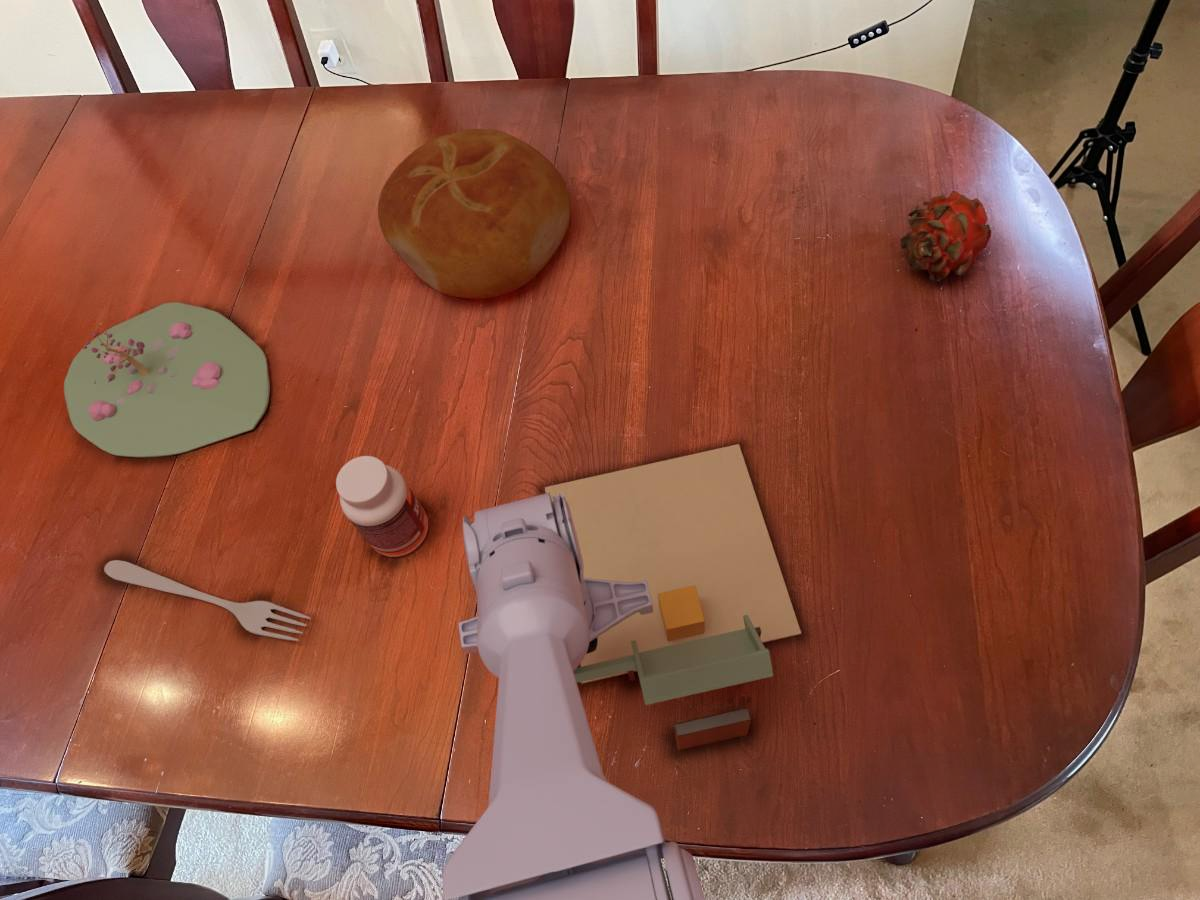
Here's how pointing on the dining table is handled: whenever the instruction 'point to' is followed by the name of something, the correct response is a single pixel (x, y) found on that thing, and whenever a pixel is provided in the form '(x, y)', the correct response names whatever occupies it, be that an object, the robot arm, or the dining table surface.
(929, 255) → the dragon fruit
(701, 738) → the stand
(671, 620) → the block
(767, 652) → the tray
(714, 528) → the mat
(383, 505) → the pill bottle
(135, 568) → the fork
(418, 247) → the bread
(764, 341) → the dining table surface
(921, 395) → the dining table surface
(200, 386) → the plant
